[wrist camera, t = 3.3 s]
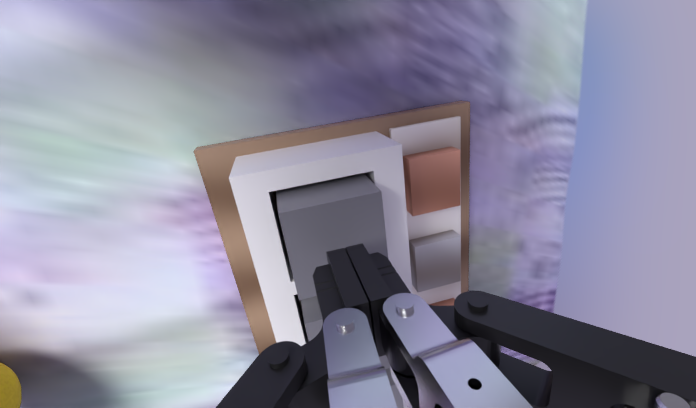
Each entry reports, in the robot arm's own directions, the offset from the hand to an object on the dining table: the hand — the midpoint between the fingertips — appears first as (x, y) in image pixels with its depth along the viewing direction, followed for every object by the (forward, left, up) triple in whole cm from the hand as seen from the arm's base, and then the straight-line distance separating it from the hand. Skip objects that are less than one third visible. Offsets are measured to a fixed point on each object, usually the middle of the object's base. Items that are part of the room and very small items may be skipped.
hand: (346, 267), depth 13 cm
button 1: (0, 0, -6) cm, 6 cm away
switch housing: (+6, 0, -9) cm, 10 cm away
